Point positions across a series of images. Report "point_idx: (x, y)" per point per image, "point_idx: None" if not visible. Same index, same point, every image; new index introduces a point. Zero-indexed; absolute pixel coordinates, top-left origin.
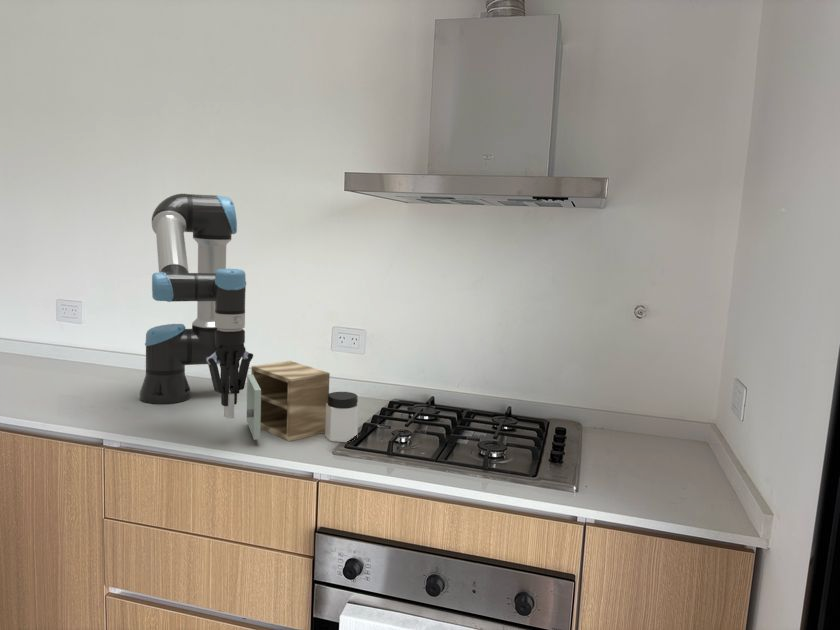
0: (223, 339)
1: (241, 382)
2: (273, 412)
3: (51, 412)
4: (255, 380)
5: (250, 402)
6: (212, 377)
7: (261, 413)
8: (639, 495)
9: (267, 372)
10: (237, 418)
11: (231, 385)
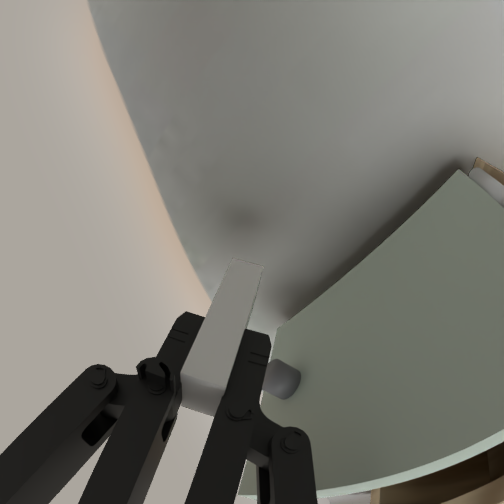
0: None
1: (259, 493)
2: None
3: None
4: (432, 471)
5: (372, 357)
6: (26, 444)
7: None
8: (364, 499)
9: (494, 498)
10: (497, 64)
11: (217, 445)
